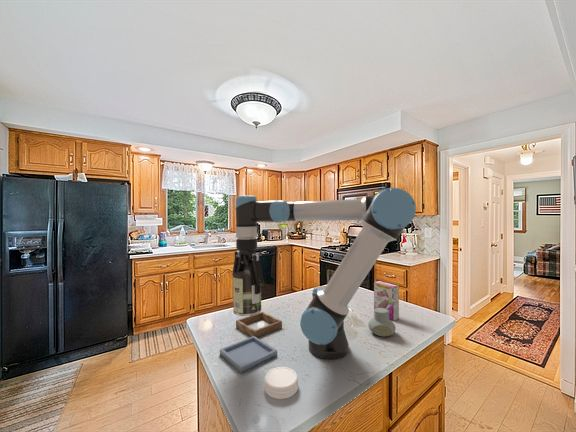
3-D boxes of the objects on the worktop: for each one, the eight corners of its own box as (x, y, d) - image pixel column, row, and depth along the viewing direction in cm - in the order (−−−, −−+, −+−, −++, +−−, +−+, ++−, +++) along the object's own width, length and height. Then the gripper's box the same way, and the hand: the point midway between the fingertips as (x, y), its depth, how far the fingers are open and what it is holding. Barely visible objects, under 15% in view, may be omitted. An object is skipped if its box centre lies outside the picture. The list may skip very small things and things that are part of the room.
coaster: (260, 398, 69) (260, 386, 69) (268, 375, 79) (268, 364, 79) (296, 402, 68) (295, 389, 68) (300, 378, 78) (299, 367, 78)
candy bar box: (373, 314, 126) (373, 282, 126) (379, 311, 129) (379, 280, 129) (393, 321, 117) (393, 287, 117) (399, 319, 120) (399, 285, 120)
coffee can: (265, 306, 94) (264, 269, 94) (256, 317, 84) (255, 276, 84) (239, 304, 96) (239, 268, 96) (228, 315, 86) (227, 275, 86)
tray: (277, 355, 90) (277, 350, 90) (241, 373, 80) (241, 367, 80) (253, 340, 101) (253, 335, 101) (219, 354, 91) (219, 349, 91)
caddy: (282, 327, 112) (282, 321, 112) (254, 338, 102) (254, 331, 102) (262, 317, 124) (262, 311, 124) (236, 327, 114) (236, 320, 114)
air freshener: (368, 336, 104) (368, 312, 104) (368, 327, 112) (368, 305, 111) (396, 339, 100) (396, 315, 100) (394, 330, 108) (394, 307, 108)
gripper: (274, 239, 84) (274, 304, 85) (239, 235, 101) (240, 290, 101) (255, 241, 79) (256, 310, 80) (222, 237, 96) (223, 294, 96)
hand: (247, 299), depth 90 cm, fingers closed on coffee can, 10 cm apart
